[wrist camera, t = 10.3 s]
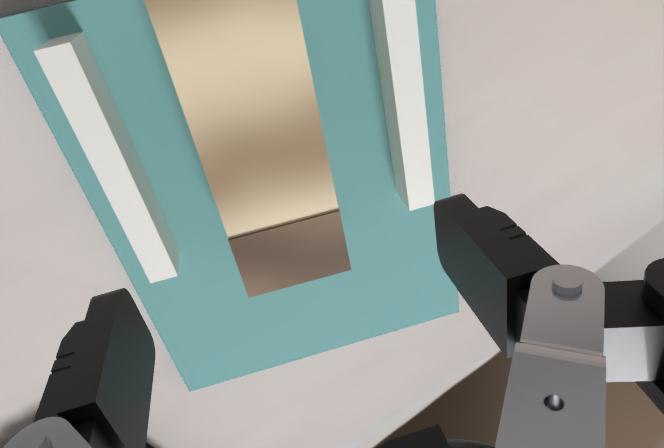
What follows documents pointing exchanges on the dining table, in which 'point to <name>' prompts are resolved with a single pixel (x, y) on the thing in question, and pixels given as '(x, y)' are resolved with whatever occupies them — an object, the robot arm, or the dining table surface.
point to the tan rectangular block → (256, 134)
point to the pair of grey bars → (127, 170)
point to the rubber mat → (201, 210)
